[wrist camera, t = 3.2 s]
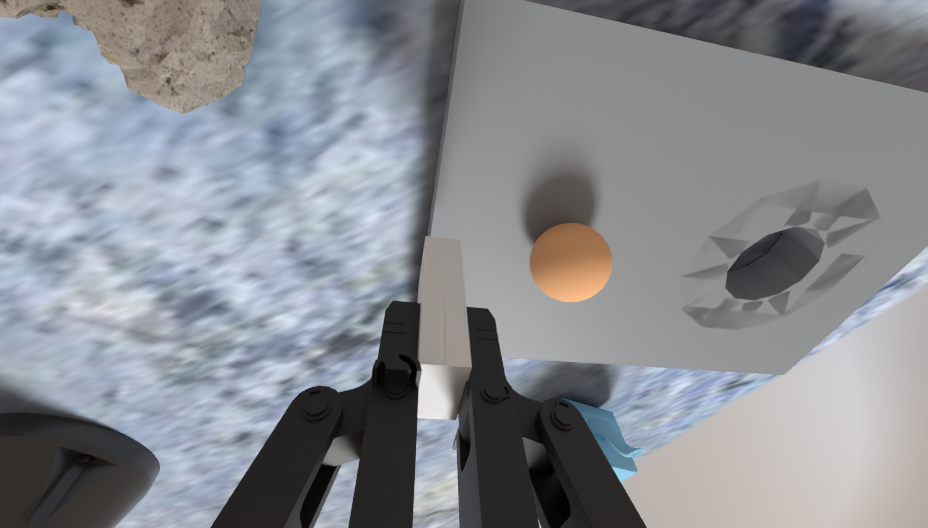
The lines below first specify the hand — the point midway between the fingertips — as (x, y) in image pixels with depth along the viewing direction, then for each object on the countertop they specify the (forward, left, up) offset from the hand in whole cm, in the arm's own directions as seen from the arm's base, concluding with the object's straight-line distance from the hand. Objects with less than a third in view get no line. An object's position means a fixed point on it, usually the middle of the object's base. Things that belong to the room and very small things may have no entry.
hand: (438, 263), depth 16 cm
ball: (+7, 0, -1) cm, 7 cm away
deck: (+15, 0, -7) cm, 16 cm away
